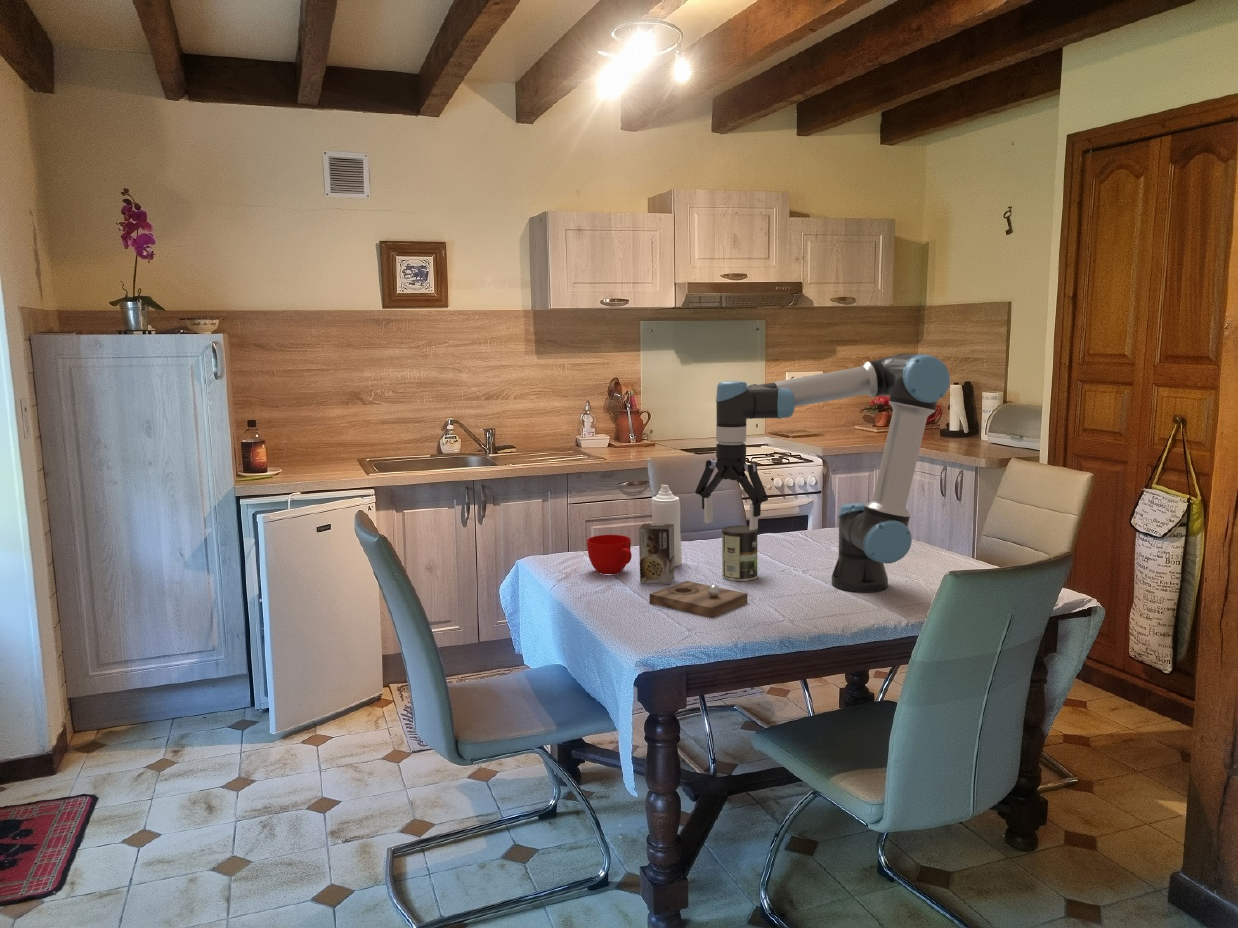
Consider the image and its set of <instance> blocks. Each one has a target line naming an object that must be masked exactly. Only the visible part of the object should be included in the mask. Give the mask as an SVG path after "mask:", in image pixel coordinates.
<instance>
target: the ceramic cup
mask: <svg viewBox="0 0 1238 928" xmlns="http://www.w3.org/2000/svg"><path fill="white" fill-rule="evenodd" d="M631 544H632V538H631V537H629V536H627V535H626V536H625V535H623V534H622V535H621V534H601V535H600V534H599V535H594V536H591V537H589V538H587V540H586V546H587V549H586V550H587V553H588V554H587V555H588V558H589V562H590V564H591V565H592V567H593V568H594V570H595V571H596V572H597V573H598V572H599V573H602V574H616V575H618V574H617V573H619V574H621V573H622V571H623V570H624V569H625V568H626V565H629V563H630V562H631V560H632V556H633V555H632V551H631V546H632V545H631ZM620 572H621V573H620ZM599 573H598V574H599Z"/></svg>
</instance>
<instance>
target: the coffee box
mask: <svg viewBox="0 0 1238 928" xmlns="http://www.w3.org/2000/svg"><path fill="white" fill-rule="evenodd" d="M638 547H639V551H638V552H639V583H640V582H642V584H661V585H662V584H663V585H671V584H672V583H673V582H674V580H676V577H675V575H676V574H675V566H674V524H653V523H646V522H644V523H643V524H641V526H640V527H638Z"/></svg>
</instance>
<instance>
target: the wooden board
mask: <svg viewBox="0 0 1238 928" xmlns="http://www.w3.org/2000/svg"><path fill="white" fill-rule="evenodd" d="M710 586H711V585H709V584H703V583H699V582H694V581H690V580H685V581H682V582H678V583H676V584H673V585H671V586H668V587H664V588H661V589H659V590H656V591H654V592H651V593H649V604H653V605H656V606H659V607H660V606H662V607H665V608H670V609H673V610H677V611H682V612H686V613H690V614H695V615H699V616H703V617H708V618H714V617H716V616H719V615H721V614H724V613H726V612H728V611H731V610H734V609H736V608H739V607H741V606H743V605H745V604H747V603H748V593H747V592H742V591H738V590H732V589H727V588H723V587H719V588H720V594H719V595H718V596H717V597H711V596H710V595H709V594H708V588H709V587H710Z"/></svg>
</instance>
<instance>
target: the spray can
mask: <svg viewBox="0 0 1238 928" xmlns="http://www.w3.org/2000/svg"><path fill="white" fill-rule="evenodd" d="M660 487H661V488H660V489H659V491H658V492H657V493H658V494H656V495H655V496H653V497H651V500H650V501H651V515H652V518H651V519H652V524H674V567H679V566H681V565H682V564H683V556H682V555H683V554H682V539H681V504H680V503H681V502H680V497H678V496H675V495H674V494H673V492H672V491H671V489H670V487H669V485H667V484H661V486H660Z"/></svg>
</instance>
